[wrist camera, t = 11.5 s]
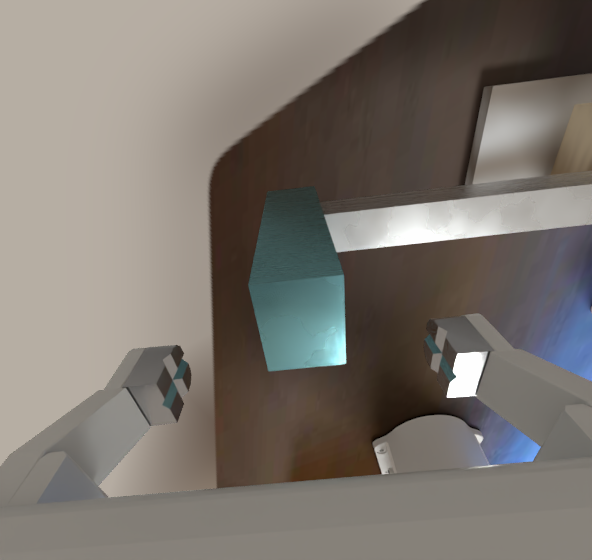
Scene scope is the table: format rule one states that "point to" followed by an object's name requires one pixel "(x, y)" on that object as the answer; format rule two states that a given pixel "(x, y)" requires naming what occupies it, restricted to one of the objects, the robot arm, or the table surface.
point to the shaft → (374, 234)
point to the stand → (533, 130)
